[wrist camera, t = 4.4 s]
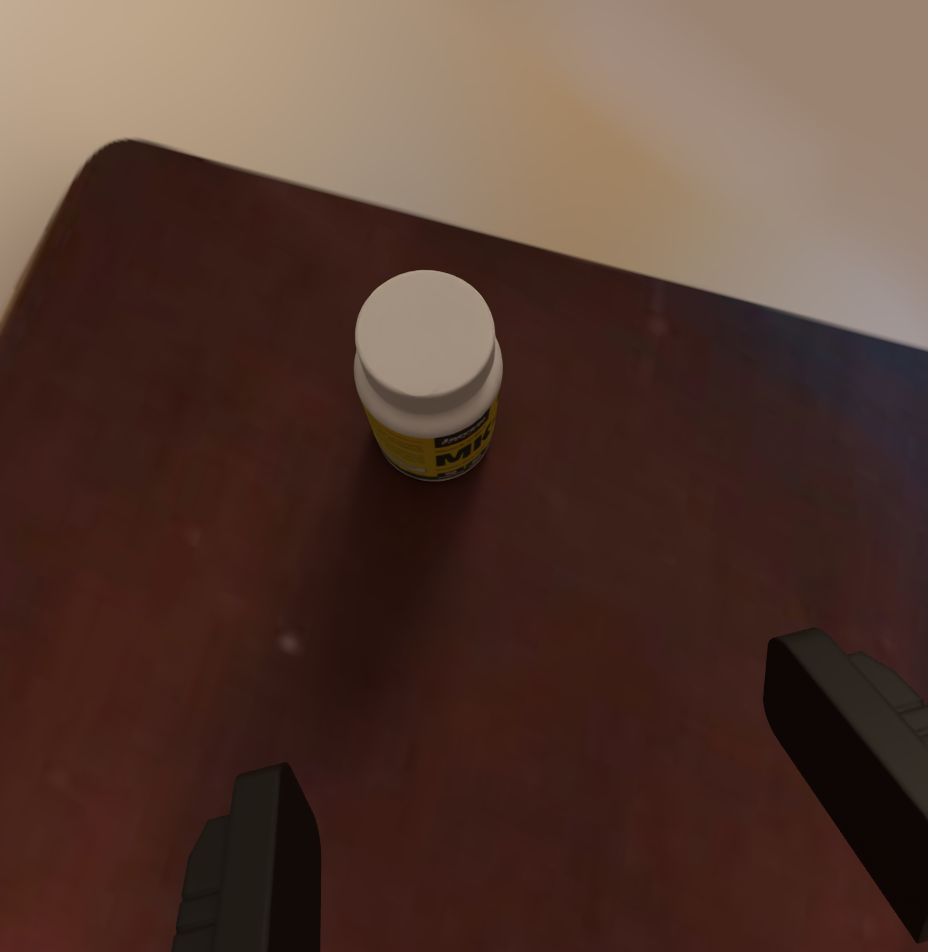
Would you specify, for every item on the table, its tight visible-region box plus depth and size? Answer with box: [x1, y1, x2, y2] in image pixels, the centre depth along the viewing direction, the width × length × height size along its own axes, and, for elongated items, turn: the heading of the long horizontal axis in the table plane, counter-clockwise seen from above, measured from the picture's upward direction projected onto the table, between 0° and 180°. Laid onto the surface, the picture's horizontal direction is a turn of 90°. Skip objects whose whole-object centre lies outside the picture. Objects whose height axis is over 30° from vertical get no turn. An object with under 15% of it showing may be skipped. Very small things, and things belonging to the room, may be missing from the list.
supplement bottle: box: [354, 270, 503, 481], centre depth 23 cm, size 5×5×8 cm
